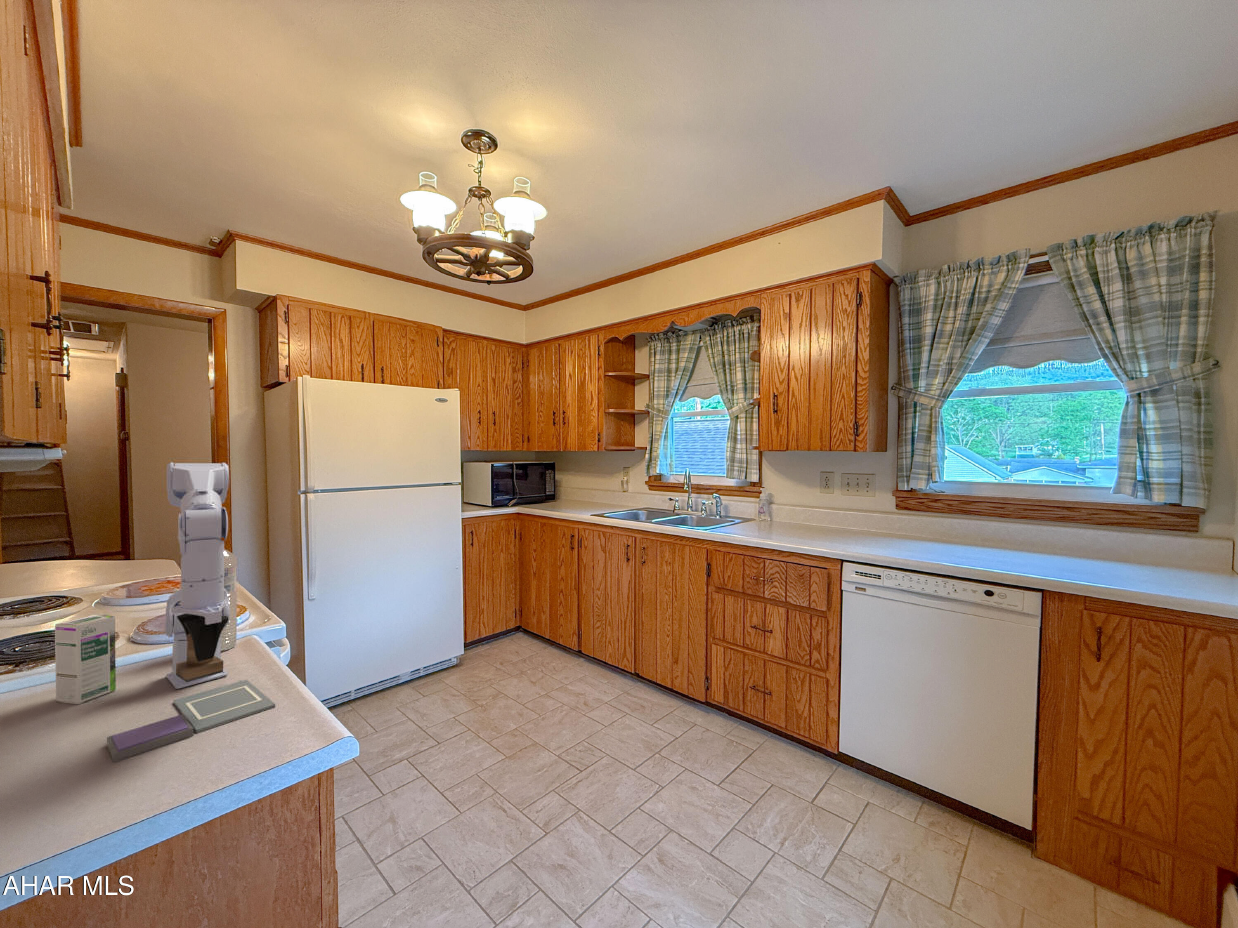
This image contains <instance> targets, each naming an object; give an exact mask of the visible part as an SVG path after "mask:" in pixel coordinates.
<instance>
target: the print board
mask: <svg viewBox="0 0 1238 928" xmlns="http://www.w3.org/2000/svg"><path fill="white" fill-rule="evenodd" d="M173 704H174V706H175V707H176V709H177V710H178V711H179V712H180V713H181V714H183V715H184V716H185V718H186V719H187V720H188V722H189V723H190V724H191V726H192V727H193V731H195V734H198V733H200V732H201V733H202V732H204V731H207V730H209V729H210V730H211V729H212V728H216V727H218V726H222V725H225V724H228V723H232V722H234V721H237V720H240V719H243V718H245V717H249V716H251V715H255V714H257V713H260V712H261V713H262V712H263V711H267V710H270V709H273V708H275V707H276V703H275V702H274V701H273V700H272V699H270V698H269V697H268V696H267V695H266V694H264V693H263V692H262V691H261V690H260V689H259V688H257V687H256V686H255V685H253V684H252V683H251V682H250V681H249V680H248V679H243V680H239V681H236V682H233V683H229V684H226V685H222V686H219V687H218V686H217V687H215V688H212V689H207V690H204V691H200V692H197V693H194V694H191V695H187V696H184V697H179V698H176V699H173Z"/></svg>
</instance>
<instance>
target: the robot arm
mask: <svg viewBox="0 0 1238 928" xmlns="http://www.w3.org/2000/svg"><path fill="white" fill-rule="evenodd" d="M229 482H230V470H229V465H228V464H227V463H226V462H221V463H219V462H218V463H213V462H212V463H200V462H199V463H195V462H191V463H190V462H189V463H187V462H186V463H185V462H182V463H181V462H178V463H174V462H169V463H168V464H167V465H166V491H167V500H168V502H169V505H170V506H173V507H175V508H178V509H180V513H178V516H177V517H178V518H177V539H178V543H179V551H180V555H181V556H180V589H178V590H177V591H175V592H174V593H172V594H170V596H169V597H168V599H167V600H166V607H165V635H166V636H167V637H168V638H172V637H173V643H172V657H171V658H172V664H171V665H172V666H171V667H172V671H171V672H168V673H165V677H166V678H167V680H169V682H170V683H171V685H172V686H173V687H174V688H175V689H178V690H179V689H183V688H186V687H190V686H194V685H197V684H200V683H205V682H209V681H211V680H217V679H219V678H223V677H226V676H228V672H227V671H226V670H224V669H223V672H222V673H218V674H215V675H211V676H208V677H204V678H200V679H197V680H193V681H190V682H185V681H184V680H182V679H181V678H180V677H178V676H177V675H176V663H179V662H184V661H187V635H188V634H191V637H192V640H193V645H194V651H195V655H196V658H197V661H203V660H207V659H211V658H213V657H214V656H216V657H218V658H219V659H221V660H222V658H221V653H222V652H221V632H222V630H223V628H226V626H227V625H228V624H229V600H228V592H226V590H225V589H224V549H225V541H227V538H228V531H229V517H228V512H227V509H226V507H223V505H222V504H224V503H225V502H226V499H227V497H228V489H229V485H230V483H229ZM222 538H223V540H222Z"/></svg>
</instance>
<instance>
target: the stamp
mask: <svg viewBox="0 0 1238 928" xmlns="http://www.w3.org/2000/svg"><path fill="white" fill-rule="evenodd" d="M223 670H224V660H223V659H222V658H221V659H219V658H218V657H216V656H214V657H213V658H211V659H207V660H203V661H197V658H196V655H195V651H194V645H193V640H192V637H191V634H188V635H187V661H184V662H179V663H176V675H177V676H178V677H180V678H181V679H182V680H184V681H185V682H190V681H193V680H197V679H200V678H204V677H208V676H211V675H215V674H218V673H222V672H223Z"/></svg>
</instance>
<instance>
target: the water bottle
mask: <svg viewBox="0 0 1238 928" xmlns="http://www.w3.org/2000/svg"><path fill="white" fill-rule="evenodd" d="M237 565H238V558H237V557H236V556H235V554H233V553H232V552H231V551H229V550H228V549H225V548H224V589H225V590H226V592H228V600H229V624H228V625H227V626H226V628H223V630H222V632H221V653H222V652H226V651H228V650H231V649H233V648H234V647H235V646H236V644H237V635H238V634H237V627H238V625H237V624H238V623H237V618H238V616H237V609H238V607H237V606H238V603H237V601H238V599H237V597H238V596H237V595H238V591H237Z"/></svg>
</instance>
